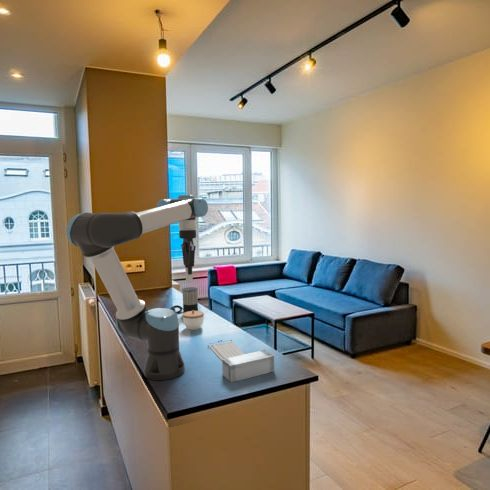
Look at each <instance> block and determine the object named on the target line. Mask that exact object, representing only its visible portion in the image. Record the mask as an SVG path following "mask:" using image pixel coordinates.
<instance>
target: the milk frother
mask: <svg viewBox="0 0 490 490" xmlns="http://www.w3.org/2000/svg"><path fill="white" fill-rule="evenodd" d="M181 290H182V306H181V305H178V304H177V305H173V306H171V307H169V309H171V310H173V311H175V312H176V313H177V314H180V313H182V314H183V313H185V312H188V311H192V310H194V311H199V307H198V306H199V303H198V299H199V298H198V290H199V289H198V288H197V287H191V286H190V287H183V288H182V289H181ZM176 308H178V309H179V310H177V311H176Z"/></svg>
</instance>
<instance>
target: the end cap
mask: <svg viewBox="0 0 490 490" xmlns="http://www.w3.org/2000/svg"><path fill="white" fill-rule="evenodd" d="M221 362H222V365H221V366H222V367H221V368H222V376H223V377H224V378H225V379H226V380H228V381H229V383H234V382H238V381H242V380H246V379H249V378H254V377H257V376H262V375H265V374H269V373H274V372H275V355H273V354H272V353H270V352H268V351H267V350H266V349H263V350H258V351H253V352H249V353H245V354H244V355H239V356H234V357H230V358H225V359H222V361H221Z"/></svg>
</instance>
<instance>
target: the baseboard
mask: <svg viewBox="0 0 490 490" xmlns="http://www.w3.org/2000/svg"><path fill="white" fill-rule="evenodd" d="M229 341H230V342H229ZM221 342H223V343H221ZM215 343H216V344H212V343H211V342H209V344H208V345H207V349H208V348H210V349H211V351H212V352H213V353H214V354H215V355H216V356H217V358H219V359H220V361H221V362H222V359H225V358H230V357H234V356H239V355H244V354H246V353H244V351H243V350H241V349H240V348H239V347H238V346H237V345H236V344H235V343H234V342H232V339H231V340H228V341H227V342H225V341H223V340H221V339H220V340H218V341H217V342H215ZM217 343H219V344H217ZM210 344H212V345H210Z"/></svg>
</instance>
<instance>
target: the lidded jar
mask: <svg viewBox="0 0 490 490" xmlns="http://www.w3.org/2000/svg"><path fill="white" fill-rule="evenodd" d="M204 314H205V313H204V311H200V310H198V311H194V310H192V311H188V312H185V313H183V312H182V319H183V320H182V322H183V324H184V326H185V327H186V328H187V330H190V331H197V330H199V329H200V328H201V327H202V326H203V323H204V319H205V317H204Z"/></svg>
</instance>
